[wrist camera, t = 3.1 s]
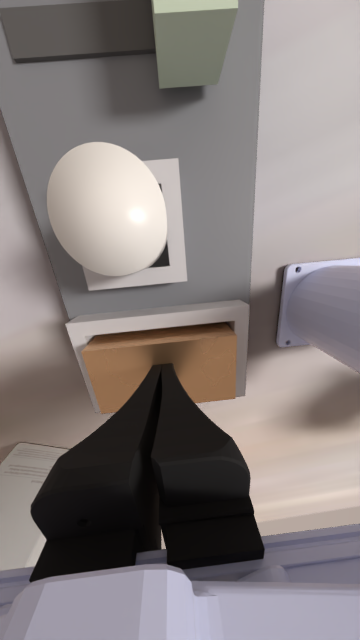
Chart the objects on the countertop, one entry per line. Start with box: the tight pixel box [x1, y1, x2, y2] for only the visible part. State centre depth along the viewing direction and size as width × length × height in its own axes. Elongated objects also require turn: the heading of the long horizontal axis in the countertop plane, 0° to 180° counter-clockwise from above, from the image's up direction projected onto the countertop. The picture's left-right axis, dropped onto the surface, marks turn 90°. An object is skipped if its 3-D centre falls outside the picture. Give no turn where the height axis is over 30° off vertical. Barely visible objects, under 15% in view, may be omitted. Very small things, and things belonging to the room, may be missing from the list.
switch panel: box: [0, 0, 264, 413], centre depth 12 cm, size 14×26×4 cm, turn 5°
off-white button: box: [47, 142, 168, 276], centre depth 8 cm, size 4×4×3 cm
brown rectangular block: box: [81, 322, 237, 414], centre depth 13 cm, size 10×5×3 cm, turn 95°
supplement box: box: [0, 443, 69, 571], centre depth 16 cm, size 7×7×13 cm
